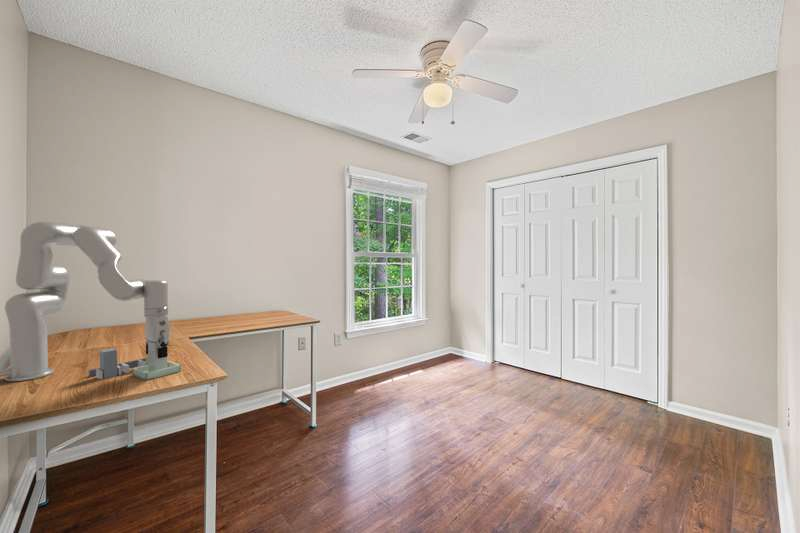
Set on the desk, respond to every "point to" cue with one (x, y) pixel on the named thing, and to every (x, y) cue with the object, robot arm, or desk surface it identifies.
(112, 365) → the block
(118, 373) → the clip block
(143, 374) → the tray
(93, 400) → the desk surface
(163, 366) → the skincare box
